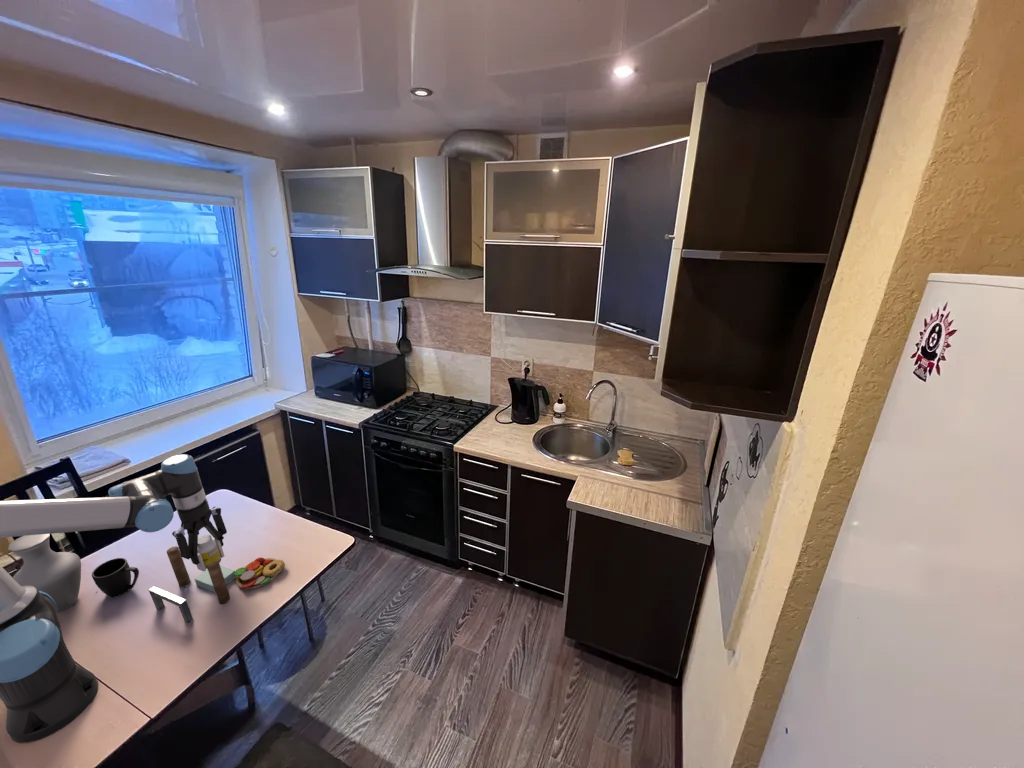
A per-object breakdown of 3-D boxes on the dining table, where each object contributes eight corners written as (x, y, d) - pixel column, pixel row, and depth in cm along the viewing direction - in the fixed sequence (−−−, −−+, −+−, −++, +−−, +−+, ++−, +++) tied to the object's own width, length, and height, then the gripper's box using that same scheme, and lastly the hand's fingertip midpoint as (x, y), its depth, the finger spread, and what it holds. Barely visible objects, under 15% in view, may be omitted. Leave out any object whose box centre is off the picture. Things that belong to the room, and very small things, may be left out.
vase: (83, 579, 138) (53, 517, 129) (103, 596, 132) (73, 532, 123) (20, 612, 127) (-17, 547, 117) (40, 633, 120) (1, 566, 111)
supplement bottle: (197, 567, 134) (188, 542, 130) (213, 555, 138) (205, 531, 135) (209, 571, 132) (201, 547, 128) (225, 559, 137) (218, 535, 133)
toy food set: (290, 569, 143) (288, 562, 142) (253, 598, 132) (250, 590, 131) (265, 556, 149) (263, 548, 148) (227, 582, 138) (225, 575, 137)
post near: (223, 605, 129) (211, 570, 124) (216, 602, 130) (204, 567, 125) (232, 597, 132) (221, 562, 127) (225, 594, 133) (214, 560, 128)
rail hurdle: (188, 623, 123) (180, 603, 120) (156, 609, 128) (148, 589, 125) (193, 619, 125) (186, 599, 122) (161, 605, 129) (153, 586, 126)
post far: (183, 588, 135) (170, 554, 130) (177, 585, 136) (164, 551, 131) (192, 581, 138) (180, 547, 133) (186, 578, 139) (174, 545, 134)
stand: (216, 592, 134) (214, 586, 133) (196, 584, 137) (194, 578, 136) (236, 576, 140) (234, 570, 139) (217, 569, 143) (215, 563, 142)
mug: (133, 601, 130) (123, 578, 127) (94, 601, 131) (83, 577, 127) (154, 580, 138) (145, 557, 135) (118, 580, 138) (108, 557, 135)
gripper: (167, 525, 117) (190, 587, 126) (229, 488, 133) (245, 546, 142) (149, 519, 120) (173, 580, 128) (212, 483, 136) (229, 540, 144)
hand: (211, 562), depth 135 cm, fingers closed on supplement bottle, 5 cm apart
